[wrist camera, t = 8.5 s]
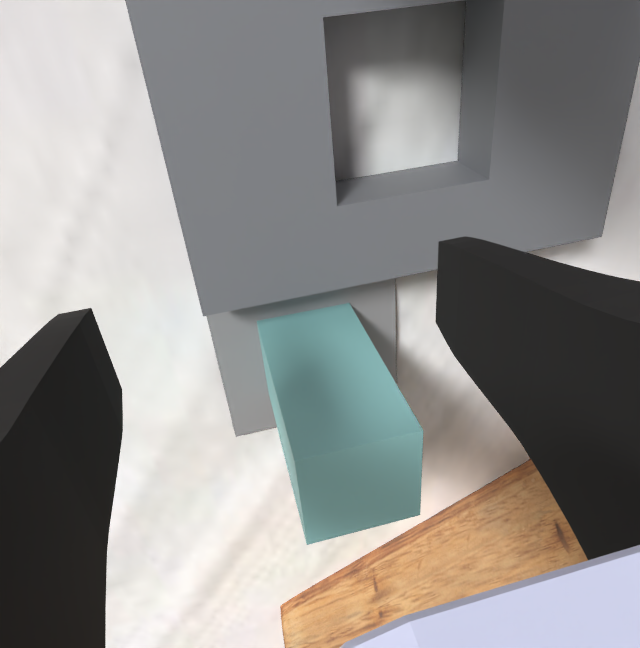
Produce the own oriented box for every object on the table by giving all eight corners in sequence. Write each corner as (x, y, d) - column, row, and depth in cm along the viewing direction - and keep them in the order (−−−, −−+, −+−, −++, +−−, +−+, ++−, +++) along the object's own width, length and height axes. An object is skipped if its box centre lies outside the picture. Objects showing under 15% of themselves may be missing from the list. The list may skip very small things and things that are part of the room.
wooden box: (376, 680, 43) (451, 930, 32) (267, 599, 34) (319, 912, 22) (716, 495, 41) (932, 694, 29) (700, 353, 31) (1007, 563, 20)
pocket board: (623, -141, 17) (686, -159, 15) (563, 214, 24) (601, 236, 22) (106, -99, 15) (97, -113, 13) (199, 284, 21) (203, 316, 19)
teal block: (349, 302, 23) (423, 430, 16) (353, 376, 25) (420, 514, 19) (256, 321, 22) (294, 461, 16) (268, 394, 24) (307, 544, 18)
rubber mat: (391, 247, 22) (394, 251, 22) (393, 393, 27) (396, 398, 27) (199, 284, 21) (200, 289, 21) (235, 431, 26) (235, 436, 25)
